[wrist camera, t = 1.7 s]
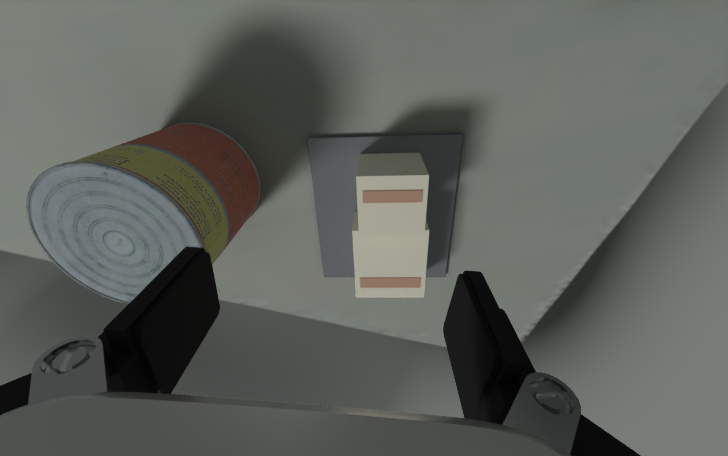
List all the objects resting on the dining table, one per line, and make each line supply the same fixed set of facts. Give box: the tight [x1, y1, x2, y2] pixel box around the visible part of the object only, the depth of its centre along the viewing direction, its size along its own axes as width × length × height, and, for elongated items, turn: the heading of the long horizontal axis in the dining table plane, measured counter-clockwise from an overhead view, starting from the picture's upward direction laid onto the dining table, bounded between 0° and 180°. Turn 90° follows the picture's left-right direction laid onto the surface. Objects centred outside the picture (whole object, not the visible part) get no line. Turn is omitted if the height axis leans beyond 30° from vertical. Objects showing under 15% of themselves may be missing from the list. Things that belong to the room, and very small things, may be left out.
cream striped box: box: [352, 211, 429, 298], centre depth 32 cm, size 7×8×4 cm
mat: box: [307, 134, 463, 277], centre depth 32 cm, size 14×16×1 cm
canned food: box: [26, 122, 261, 304], centre depth 26 cm, size 11×11×12 cm
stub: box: [356, 153, 429, 237], centre depth 27 cm, size 6×5×6 cm
